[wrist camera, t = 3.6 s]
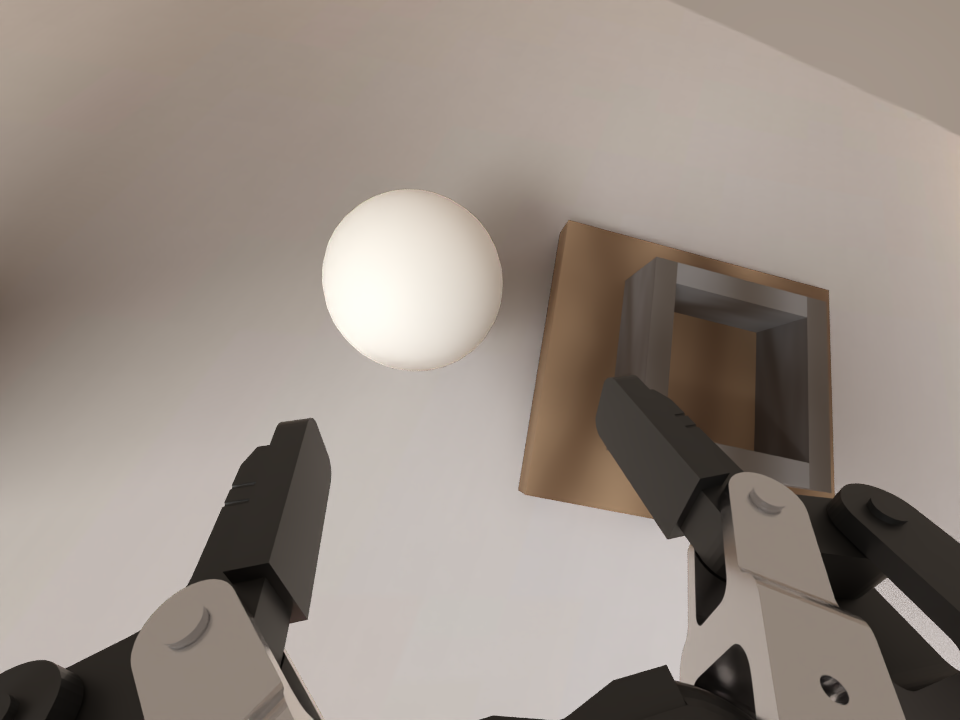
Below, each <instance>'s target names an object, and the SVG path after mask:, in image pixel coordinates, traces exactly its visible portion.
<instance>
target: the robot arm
mask: <svg viewBox="0 0 960 720" xmlns="http://www.w3.org/2000/svg"><path fill="white" fill-rule="evenodd" d="M595 421H596V428H597V432H598V434H599V436H600V438H601V440H602V441H603V443H604V444H605V446H606V447H607V449H608V450H609V452H610V453H611V455H612V456H613V458H614V459H615V461H616V462H617V464H618V465H619V467H620V468H621V470H622V471H623V473H624V474H625V476H626V477H627V479H628V481H629V482H630V484H631V485H632V487H633V488H634V490H635V491H636V493H637V494H638V496H639V497H640V499H641V500H642V502H643V503H644V505H645V506H646V508H647V509H648V511H649V512H650V514H651V515H652V517H653V518H654V520H655V521H656V523H657V525H658V526H659V528H660V529H661V531H662V532H663V534H664V535H665V537H666V538H667V539H672V538H676V537H681V536H686V538H687V539H688V541H689V542H690V545H689V548H688V553H687V558H688V631H687V638H686V642H685V645H684V648H683V652H682V657H681V664H680V682H679V681H674V679H673V677H672V675H671V673H670V671H669V669H668V667H667V665H664V666H661V667H657V668H654V669H651V670H647V671H644V672H640V673H637V674H634V675H630V676H627V677H623V678H620V679H616V680H613V681H612V682H611V683H609V684H608V685H607V686H605V687H604V688H603V689H602V690H600V691H599V692H598V693H597V694H595V695H594V696H593V697H591V698H590V699H589V700H588V701H586V702H585V703H584V704H583V705H581V706H580V707H579V708H577V709H576V710H575V711H574V712H572V713H571V714H570V715H569V716H567V717H566V718H564V719H561V720H960V671H958V670H957V669H955V668H954V667H952V666H951V665H950V664H948V663H947V662H946V661H945V660H944V659H943V658H942V657H941V656H940V655H939V654H938V653H937V652H936V651H935V650H934V649H933V648H932V647H931V646H930V645H929V644H928V643H927V642H926V641H925V640H924V639H923V637H922V636H921V635H920V634H919V633H918V632H917V631H916V630H915V629H914V628H913V627H912V626H911V625H910V624H909V623H908V622H907V621H906V620H905V619H904V618H903V617H902V616H901V615H900V614H899V613H898V612H897V611H896V610H895V609H894V608H893V607H892V606H891V605H890V604H889V603H888V602H887V601H886V600H885V599H884V598H883V597H882V595H881V594H880V593H879V592H878V591H877V590H876V589H875V588H874V587H875V586H877V585H878V584H879V583H881V582H882V581H883V580H885V579H886V578H887V577H888V578H889V579H890V580H891V581H892V582H893V583H894V584H895V585H896V586H897V587H898V588H899V589H900V590H901V591H902V592H903V593H904V594H905V595H906V596H907V597H908V598H909V599H910V600H912V601H913V602H914V603H915V604H916V605H917V606H918V607H919V608H920V609H921V610H922V611H923V612H924V613H925V614H926V615H927V616H928V617H929V618H930V619H931V620H932V621H933V622H934V623H935V624H936V625H937V626H938V627H939V628H940V629H941V630H942V631H943V632H944V633H945V634H946V635H947V636H949V638H950V639H951V640H952V641H953V642H954V643H955V644H956V646H957V647H958V648H959V650H960V543H958V542H957V541H956V540H955V539H953V538H952V537H951V536H949V535H948V534H947V533H946V532H944V531H943V530H942V529H941V528H939V527H938V526H937V525H935V524H934V523H933V522H932V521H930V520H929V519H928V518H926V517H925V516H924V515H923V514H921V513H920V512H919V511H917V510H916V509H915V508H914V507H912V506H911V505H909V504H908V503H907V502H905V501H903V500H902V499H900V498H898V497H897V496H895V495H893V494H891V493H889V492H886V491H884V490H882V489H879V488H876V487H873V486H869V485H865V484H848V485H846V486H844V487H843V488H842V489H841V490H840V491H839V492H838V493H837V494H836V495H835V496H834V498H824V497H815V496H806V495H797V494H794V493H793V492H792V491H791V490H790V489H789V488H787V487H786V486H784V485H783V484H781V483H780V482H778V481H776V480H774V479H772V478H770V477H767V476H764V475H762V474H758V473H752V472H744V471H743V470H742V469H741V468H740V467H739V466H738V465H737V464H736V463H735V462H734V461H733V460H732V459H731V458H730V457H729V456H728V455H727V454H726V453H725V452H724V451H723V450H722V449H721V448H720V447H719V446H718V445H716V444H715V443H714V442H713V441H712V440H711V439H710V438H709V437H708V436H707V435H706V434H705V433H704V432H703V431H702V430H701V429H700V428H699V427H696V424H695V423H694V422H693V421H692V420H691V419H690V418H689V417H688V416H685V413H684V412H683V411H682V410H681V409H680V408H679V407H678V406H677V405H676V404H675V403H674V402H673V401H672V400H671V399H670V398H668V397H666V396H664V395H663V394H661V393H659V392H658V391H656V390H654V389H651V390H650V389H649V388H648V387H647V386H646V385H645V384H644V383H643V382H642V381H641V380H640V379H639V378H638V377H637V376H636V375H633V374H631V375H624V376H616V377H609V378H607V379H606V380H605V381H604V384H603V388H602V392H601V396H600V401H599V405H598V409H597V413H596V419H595ZM330 483H331V465H330V460H329V456H328V453H327V451H326V448H325V445H324V443H323V440H322V437H321V434H320V432H319V429H318V426H317V424H316V422H315V420H314V419H313V418H308V419H301V420H294V421H286V422H281V423H279V424H278V425H277V427H276V430H275V433H274V435H273V438H272V441H271V443H270V445H267V446H260V447H257V448H256V449H255V450H254V451H253V452H252V454H251V455H250V456H249V457H248V458H247V459H246V460H245V461H244V462H243V463H242V465H241V466H240V468H239V471H238V473H237V475H236V477H235V480H234V482H233V484H232V489H231V490H230V491H229V493H228V496H227V498H226V500H225V506H224V507H222V509H221V512H220V514H219V516H218V518H217V521H216V523H215V525H214V528H213V530H212V532H211V534H210V537H209V539H208V541H207V544H206V546H205V548H204V550H203V553H202V555H201V557H200V560H199V562H198V564H197V566H196V569H195V571H194V573H193V576H192V578H191V580H190V581H189V583H188V585H187V586H186V588H184V589H182V590H180V591H179V592H177V593H176V594H174V595H173V596H172V597H170V598H169V599H168V600H166V601H165V602H164V603H163V604H162V605H161V606H160V607H159V608H158V609H157V610H156V611H155V612H154V613H153V614H152V615H151V616H150V618H149V619H148V620H147V622H146V623H145V624H144V626H143V627H142V629H141V630H140V631H139V632H137V633H135V634H133V635H131V636H130V637H128V638H126V639H124V640H122V641H120V642H118V643H116V644H114V645H112V646H110V647H108V648H106V649H104V650H102V651H100V652H98V653H96V654H94V655H92V656H90V657H88V658H86V659H84V660H82V661H80V662H78V663H76V664H74V665H72V666H70V667H68V668H66V669H65V668H63V667H61V666H59V665H57V664H55V663H53V662H50V661H46V660H36V661H31V662H27V663H24V664H21V665H18V666H16V667H13V668H11V669H9V670H7V671H5V672H3V673H1V674H0V720H325V719H324V718H323V716H322V714H321V712H320V710H319V709H318V707H317V705H316V703H315V701H314V700H313V698H312V696H311V694H310V692H309V691H308V689H307V687H306V685H305V684H304V682H303V680H302V678H301V676H300V675H299V673H298V671H297V669H296V667H295V666H294V664H293V662H292V660H291V658H290V657H289V655H288V653H287V651H286V650H285V648H284V647H285V642H286V637H287V632H288V627H289V624H290V623H294V622H299V621H303V620H308V614H309V608H310V602H311V596H312V590H313V584H314V578H315V572H316V566H317V560H318V554H319V548H320V542H321V536H322V531H323V525H324V519H325V513H326V507H327V501H328V495H329V489H330ZM480 720H543V719H530V718H517V717H504V716H490V717H487V718H483V719H480Z"/></svg>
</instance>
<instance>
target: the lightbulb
mask: <svg viewBox="0 0 960 720" xmlns="http://www.w3.org/2000/svg"><path fill="white" fill-rule="evenodd" d="M322 285H323V291H324V296H325V301H326V306H327V308H328V311H329V313H330V315H331V318H332V320H333V322H334V324H335V325H336V327H337V328H338V329H339V331H340V332H341V334H342V335H343V336H344V338H345V339H346V340H347V341H348V342H349V343H350V344H351V345H352V346H353V347H354V348H356V349H357V350H358V351H359V352H360V353H361V354H363V355H365V356H366V357H368V358H369V359H371V360H373V361H374V362H376V363H379V364H382V365H385V366H387V367H390V368H393V369H400V370H406V371H428V370H432V369H437V368H441V367H445V366H447V365H449V364H452V363H454V362H456V361H458V360H460V359H462V358H463V357H465V356H466V355H467V354H469V353H470V352H472V351H473V350H474V349H475V348H476V347H477V346H478V345H479V344H480V343H481V342H482V341H483V339H484V338H485V337H486V335H487V333H488V332H489V330H490V328H491V327H492V325H493V324H494V322H495V320H496V317H497V314H498V312H499V309H500V306H501V299H502V291H503V279H502V267H501V264H500V260H499V257H498V253H497V250H496V247H495V245H494V243H493V241H492V239H491V237H490V235H489V233H488V232H487V230H486V229H485V228H484V227H483V225H482V224H481V223H480V221H479V220H478V219H477V218H476V217H474V216H473V215H472V214H471V213H470V212H469V211H468V210H467V209H465V208H464V207H462V206H461V205H459V204H457V203H456V202H454V201H453V200H451V199H449V198H447V197H444V196H442V195H439V194H437V193H433V192H429V191H424V190H415V189H402V190H394V191H388V192H385V193H382V194H379V195H376V196H374V197H372V198H370V199H368V200H366V201H364V202H362V203H361V204H360V205H358V206H357V207H356V208H355V209H353V210H352V211H351V212H350V213H349V214H347V215H346V216H345V217H344V219H343V220H342V221H341V222H340V224H339V225H338V226H337V227H336V228H335V230H334V232H333V234H332V236H331V238H330V240H329V242H328V245H327V249H326V253H325V257H324V261H323V267H322Z"/></svg>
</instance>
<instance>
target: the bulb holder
mask: <svg viewBox="0 0 960 720" xmlns="http://www.w3.org/2000/svg"><path fill="white" fill-rule="evenodd" d="M631 374H633V375H636V376H637V377H638V378H639V379H640V380H641V381H642V382H643V383H644V384H645V385H646V386H647V387H648V388H649V389H650V390H651V389H654V390H656V391H658V392H659V393H661V394H663V395H664V396H666V397H668V398H670V399H671V400H672V401H673V402H674V403H675V404H676V405H677V406H678V407H679V408H680V409H681V410H682V411H683V412H684V413H685V416H688V417H689V418H690V419H691V420H692V421H693V422H694V423H695V424H696V427H699V428H700V429H701V430H702V431H703V432H704V433H705V434H706V435H707V436H708V437H709V438H710V439H711V440H712V441H713V442H714V443H715V444H716V445H718V446H719V447H720V448H721V449H722V450H723V451H724V452H725V453H726V454H727V455H728V456H729V457H730V458H731V459H732V460H733V461H734V462H735V463H736V464H737V465H738V466H739V467H740V468H741V469H742V470H743V471H744V472H752V473H758V474H762V475H764V476H767V477H770V478H772V479H774V480H776V481H778V482H780V483H781V484H783V485H784V486H786V487H787V488H789V489H790V490H791V491H792V492H793V493H794V494H797V495H806V496H815V497H824V498H834V496H835V492H834V458H833V423H832V388H831V353H830V319H829V290H825V289H822V288H818V287H814V286H811V285H807V284H803V283H799V282H796V281H792V280H788V279H785V278H781V277H777V276H774V275H770V274H766V273H763V272H759V271H755V270H751V269H748V268H744V267H740V266H737V265H733V264H729V263H726V262H722V261H718V260H715V259H711V258H707V257H703V256H700V255H696V254H692V253H689V252H685V251H681V250H678V249H674V248H670V247H667V246H663V245H659V244H655V243H652V242H648V241H644V240H641V239H637V238H633V237H630V236H626V235H622V234H618V233H615V232H611V231H607V230H604V229H600V228H596V227H593V226H589V225H585V224H582V223H578V222H574V221H570V220H568V222H567V223H566V225H565V226H564V228H563V229H562V231H561V232H560V236H559V242H558V248H557V254H556V260H555V266H554V273H553V279H552V285H551V291H550V297H549V303H548V310H547V316H546V322H545V328H544V334H543V340H542V347H541V353H540V359H539V365H538V371H537V377H536V384H535V390H534V396H533V402H532V408H531V414H530V421H529V427H528V433H527V439H526V445H525V451H524V458H523V464H522V470H521V476H520V482H519V488H518V490H519V491H521V492H522V493H524V494H525V495H530V496H535V497H540V498H545V499H551V500H556V501H561V502H567V503H572V504H577V505H583V506H588V507H593V508H599V509H604V510H609V511H614V512H620V513H625V514H630V515H636V516H641V517H646V518H652V519H654V518H653V517H652V515H651V514H650V512H649V511H648V509H647V508H646V506H645V505H644V503H643V502H642V500H641V499H640V497H639V496H638V494H637V493H636V491H635V490H634V488H633V487H632V485H631V484H630V482H629V481H628V479H627V477H626V476H625V474H624V473H623V471H622V470H621V468H620V467H619V465H618V464H617V462H616V461H615V459H614V458H613V456H612V455H611V453H610V452H609V450H608V449H607V447H606V446H605V444H604V443H603V441H602V440H601V438H600V436H599V434H598V432H597V428H596V421H595V419H596V413H597V409H598V405H599V401H600V396H601V392H602V388H603V384H604V381H605V380H606V379H607V378H609V377H616V376H624V375H631Z"/></svg>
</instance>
